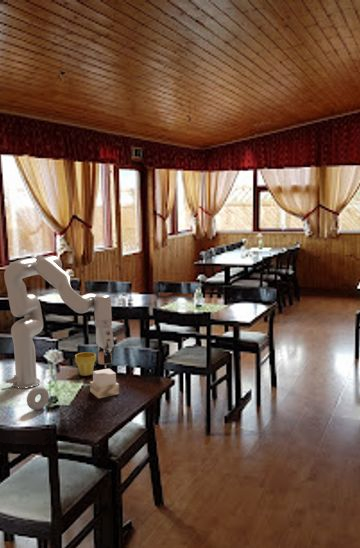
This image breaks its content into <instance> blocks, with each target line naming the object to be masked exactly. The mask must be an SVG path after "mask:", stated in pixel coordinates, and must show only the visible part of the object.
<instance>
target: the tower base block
mask: <svg viewBox="0 0 360 548" xmlns="http://www.w3.org/2000/svg"><path fill="white" fill-rule="evenodd" d="M89 391H90V393H91V394H92V395H94V396H95V397H96V398H97V399H102V398H107V397H110V396H116V395H119V394H120V383H118V381H116V384H113V385H108V386H102V387H99V386H98V385H96V384H95V383H94V382H93V380H92V381H91V380H90V381H89Z"/></svg>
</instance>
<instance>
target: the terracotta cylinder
mask: <svg viewBox="0 0 360 548" xmlns="http://www.w3.org/2000/svg"><path fill="white" fill-rule="evenodd" d="M106 352H107V350H106ZM104 355H105V353H104V350H103V351H101V352H97V360H98V361H97V362H98V364H99V365H105V364H104ZM112 363H113V360H112V357H111V363H108V364H107V365H110V364H112Z"/></svg>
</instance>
